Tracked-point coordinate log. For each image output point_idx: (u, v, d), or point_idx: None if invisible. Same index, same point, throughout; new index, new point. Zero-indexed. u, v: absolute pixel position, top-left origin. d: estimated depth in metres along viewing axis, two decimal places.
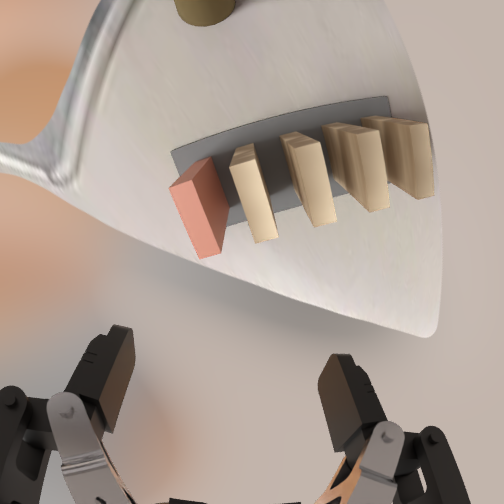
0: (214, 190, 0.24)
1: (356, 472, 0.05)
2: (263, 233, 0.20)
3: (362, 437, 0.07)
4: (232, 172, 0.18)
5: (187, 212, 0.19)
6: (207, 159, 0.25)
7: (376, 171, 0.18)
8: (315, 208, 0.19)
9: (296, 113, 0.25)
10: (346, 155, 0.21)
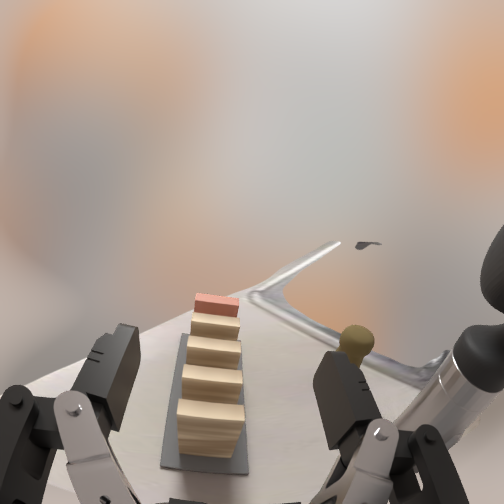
0: None
1: (351, 471, 0.05)
2: (197, 316, 0.33)
3: (356, 434, 0.07)
4: (236, 318, 0.35)
5: (223, 298, 0.38)
6: None
7: (213, 375, 0.25)
8: (200, 339, 0.30)
9: None
10: None
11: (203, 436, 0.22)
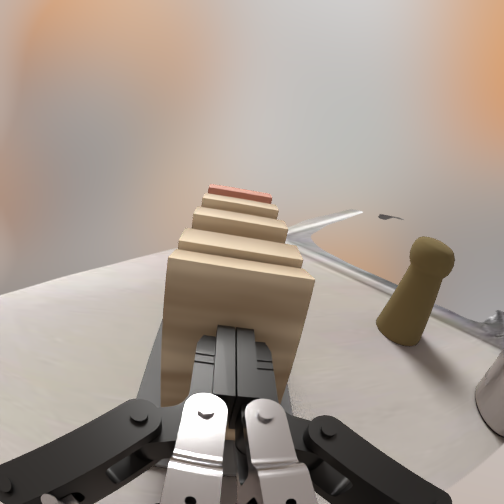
0: None
1: (253, 469, 0.05)
2: (211, 196, 0.22)
3: (240, 412, 0.07)
4: (271, 204, 0.23)
5: (249, 191, 0.26)
6: None
7: (242, 244, 0.14)
8: (217, 211, 0.18)
9: None
10: None
11: None
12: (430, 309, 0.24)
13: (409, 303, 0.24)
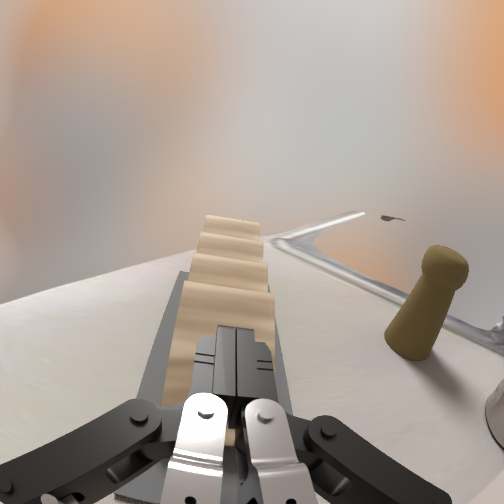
0: None
1: (253, 469, 0.05)
2: None
3: (240, 412, 0.07)
4: None
5: None
6: None
7: None
8: None
9: (283, 375, 0.19)
10: None
11: None
12: (442, 322, 0.21)
13: (420, 316, 0.22)
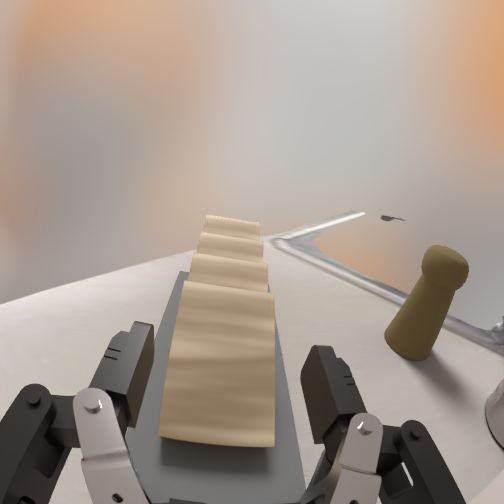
0: None
1: (337, 468, 0.05)
2: None
3: (339, 428, 0.07)
4: None
5: None
6: None
7: None
8: None
9: (283, 375, 0.19)
10: None
11: (216, 344, 0.15)
12: (442, 322, 0.21)
13: (420, 316, 0.22)
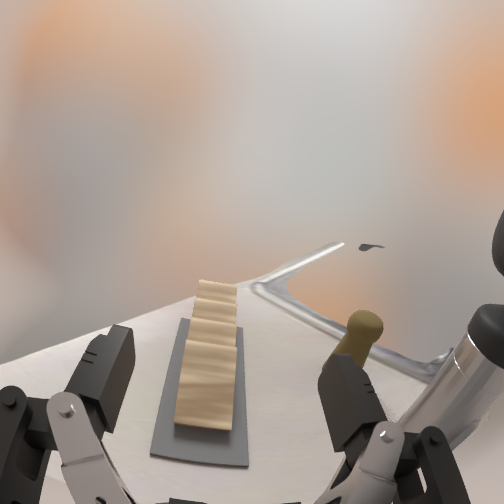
0: None
1: (356, 472, 0.05)
2: None
3: (362, 437, 0.07)
4: None
5: None
6: None
7: None
8: None
9: (243, 392, 0.31)
10: None
11: (203, 375, 0.27)
12: (361, 363, 0.34)
13: None
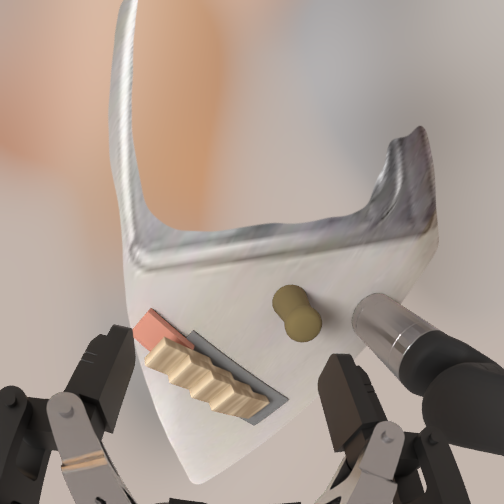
0: None
1: (356, 472, 0.05)
2: (146, 359, 0.40)
3: (362, 437, 0.07)
4: None
5: None
6: (185, 343, 0.44)
7: (201, 384, 0.42)
8: (173, 372, 0.41)
9: (249, 374, 0.47)
10: None
11: (237, 407, 0.44)
12: None
13: None
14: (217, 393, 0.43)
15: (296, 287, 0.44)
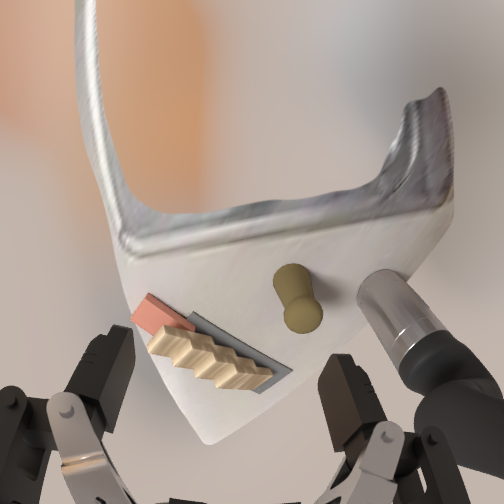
0: None
1: (356, 472, 0.05)
2: (149, 346, 0.41)
3: (362, 437, 0.07)
4: (162, 326, 0.40)
5: (141, 302, 0.43)
6: (186, 326, 0.44)
7: (204, 366, 0.44)
8: (175, 355, 0.43)
9: (252, 350, 0.49)
10: None
11: (241, 383, 0.47)
12: None
13: None
14: (221, 372, 0.45)
15: (298, 267, 0.42)
